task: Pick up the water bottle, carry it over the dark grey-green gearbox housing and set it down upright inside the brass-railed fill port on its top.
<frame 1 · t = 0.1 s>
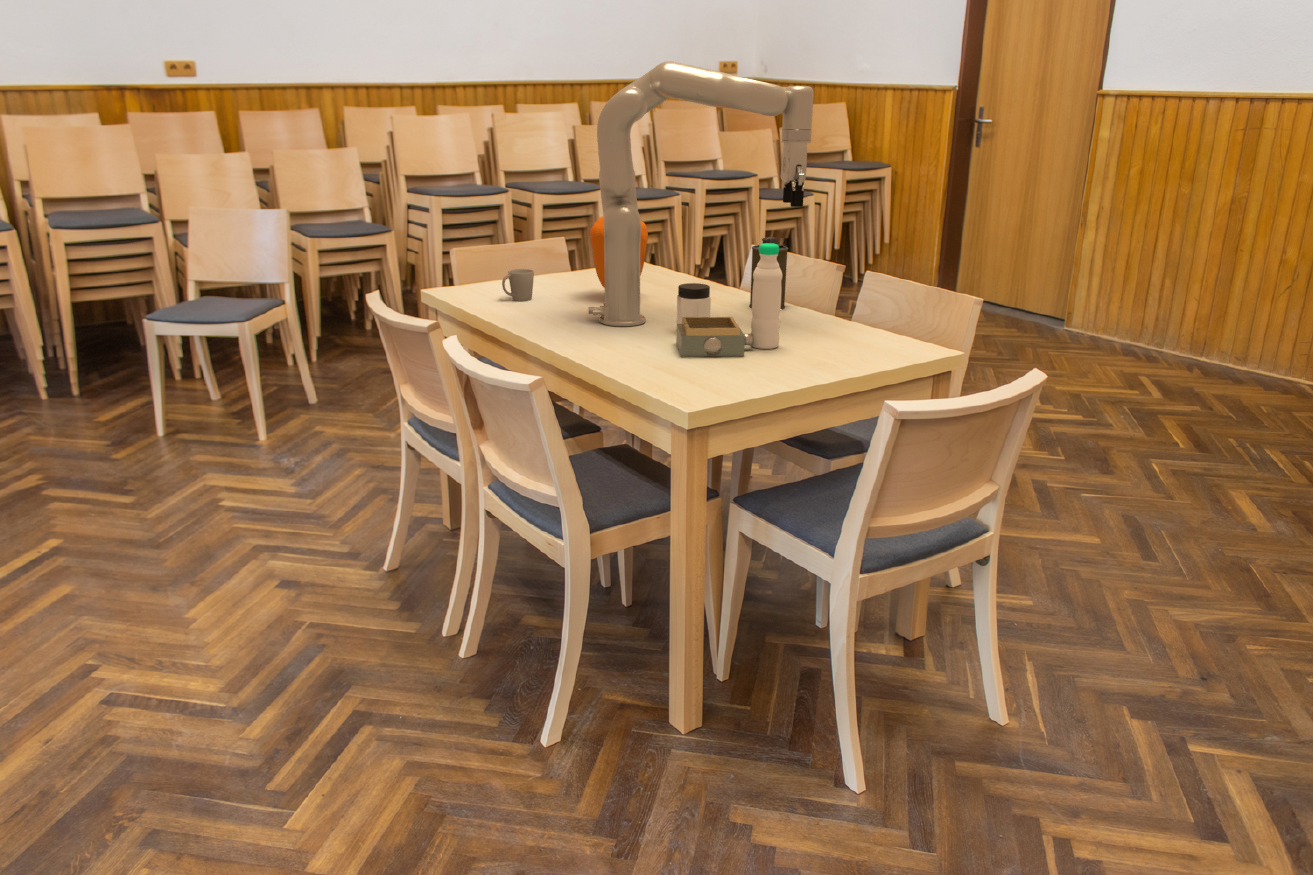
hand: (792, 204, 256), 31 cm above the table, fingers open, 9 cm apart
cup: (518, 300, 290), on the table
gearbox: (709, 349, 235), on the table
water bottle: (764, 347, 239), on the table
orange egg-shaped ornament: (618, 299, 292), on the table
canister: (767, 307, 283), on the table
jar: (693, 332, 253), on the table
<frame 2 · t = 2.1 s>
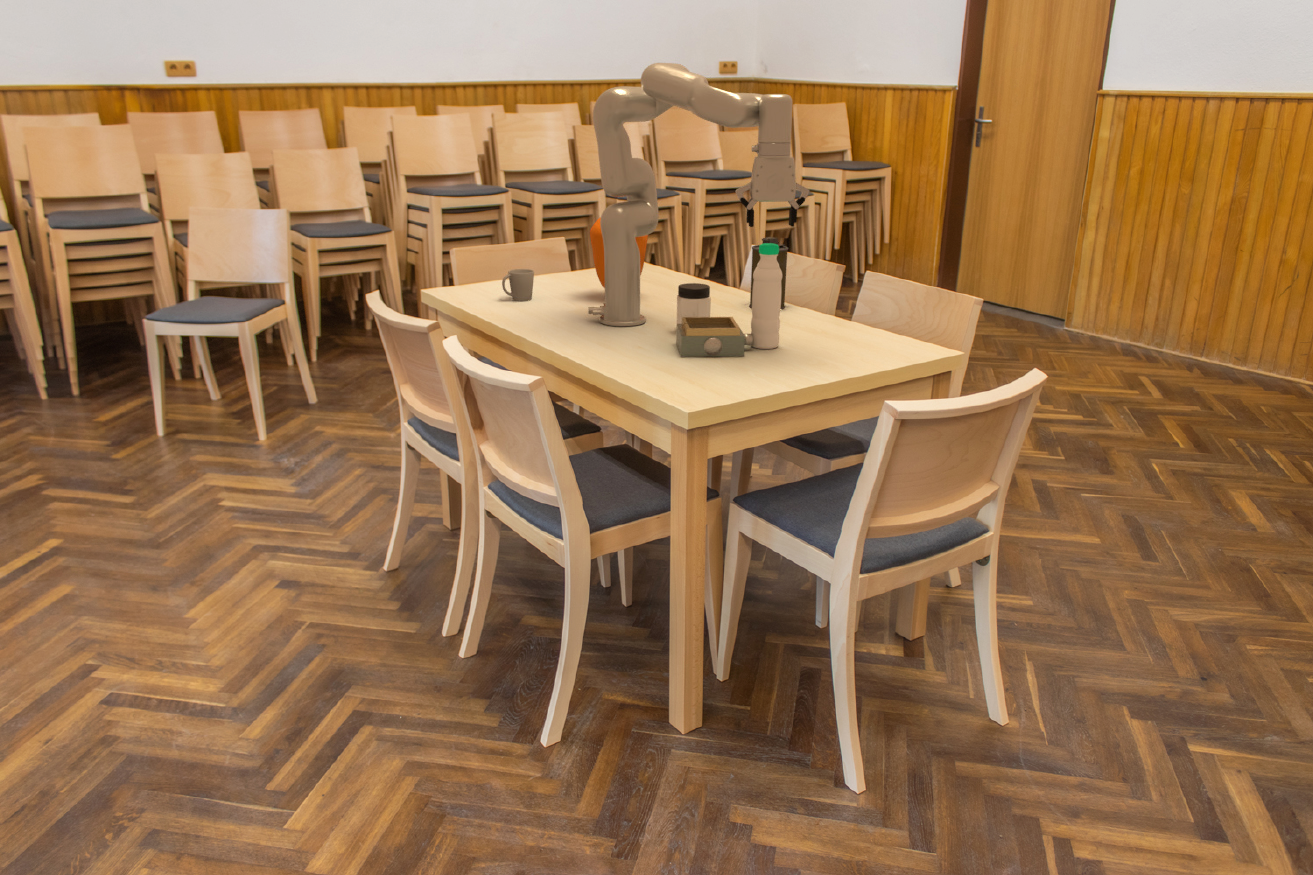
hand: (771, 226, 229), 29 cm above the table, fingers open, 9 cm apart
nothing on the table moved.
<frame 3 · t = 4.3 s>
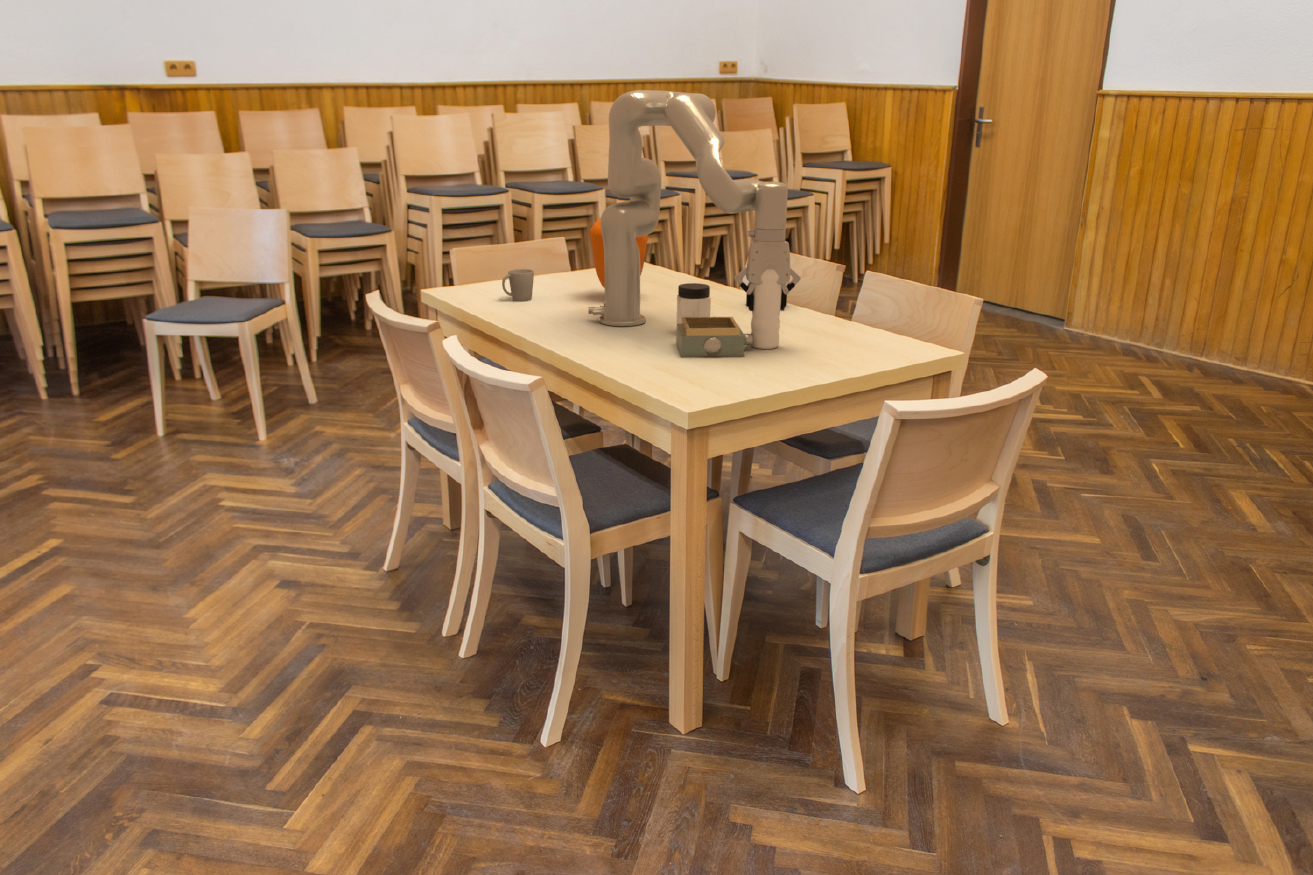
hand: (766, 309, 236), 9 cm above the table, fingers closed on water bottle, 7 cm apart
water bottle: (764, 347, 239), on the table, touching gripper
everything else where it was.
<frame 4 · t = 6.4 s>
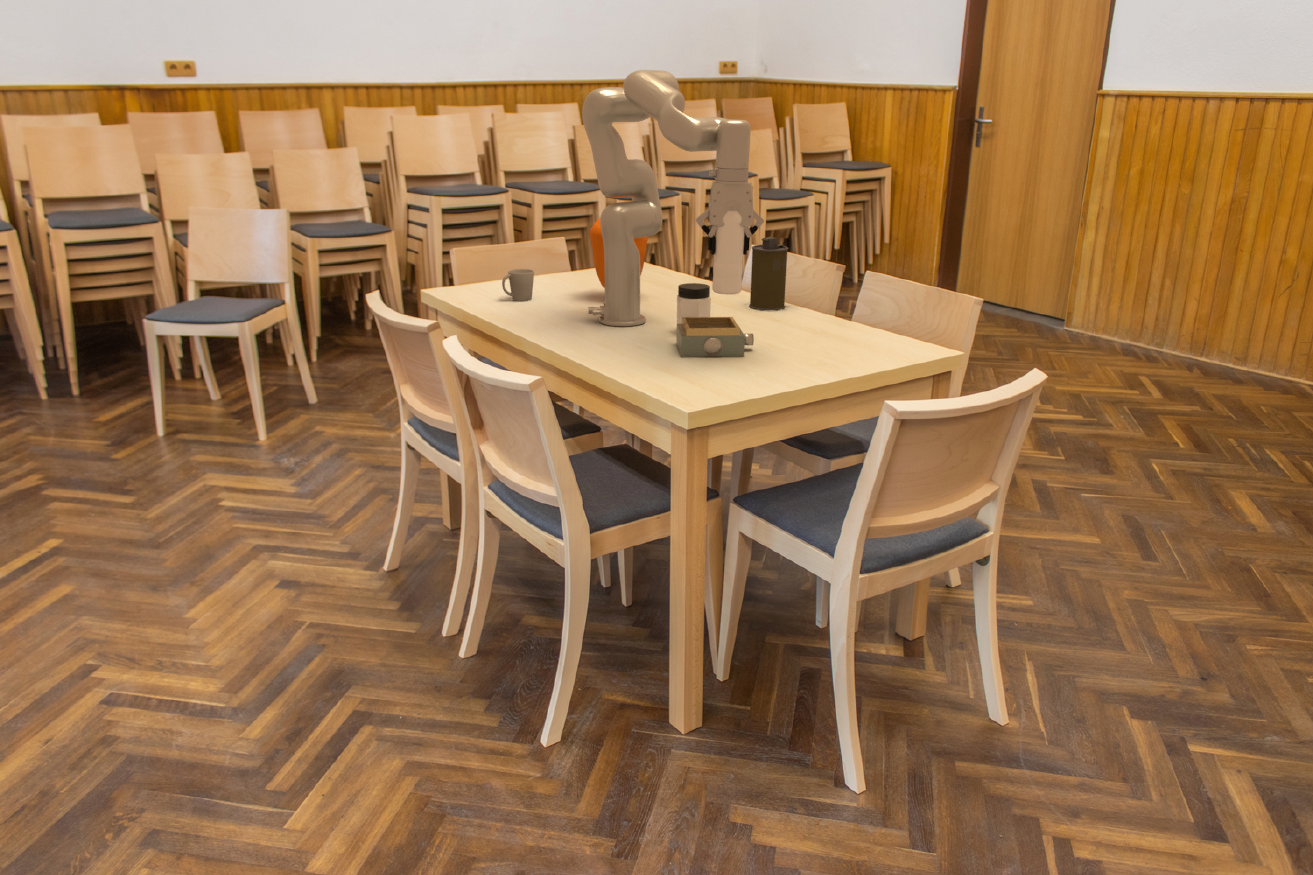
hand: (728, 253, 229), 23 cm above the table, fingers closed on water bottle, 7 cm apart
water bottle: (726, 292, 232), point 14 cm above the table, touching gripper
everything else where it was.
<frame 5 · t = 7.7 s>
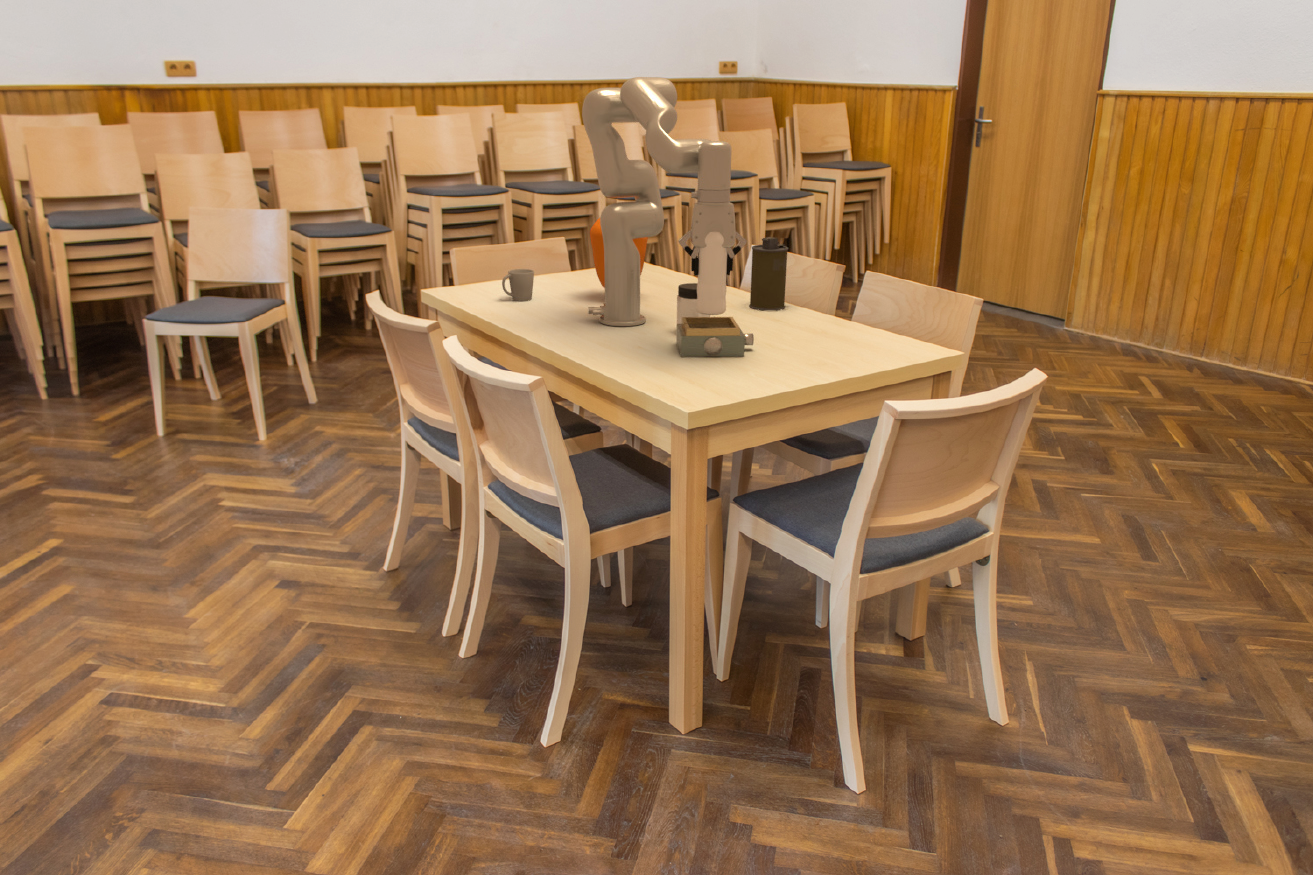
hand: (711, 273, 229), 18 cm above the table, fingers closed on water bottle, 7 cm apart
water bottle: (711, 313, 232), point 9 cm above the table, touching gripper
everything else where it was.
when the fingers open (15 cm above the table, at t = 8.8 s): water bottle stays where it is, resting on gearbox.
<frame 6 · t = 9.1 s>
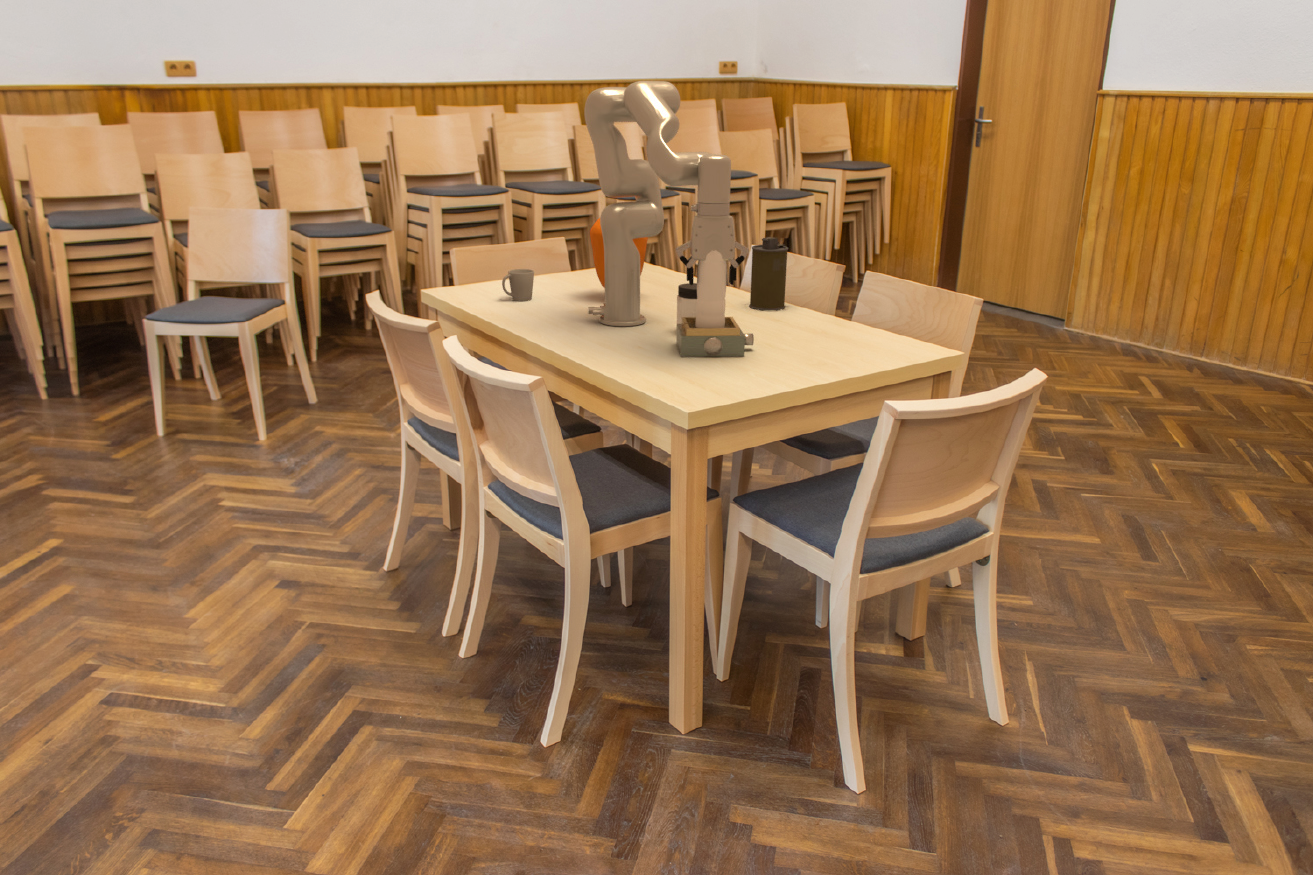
hand: (711, 283, 230), 16 cm above the table, fingers open, 9 cm apart
water bottle: (709, 329, 234), point 5 cm above the table, touching gearbox
everything else where it was.
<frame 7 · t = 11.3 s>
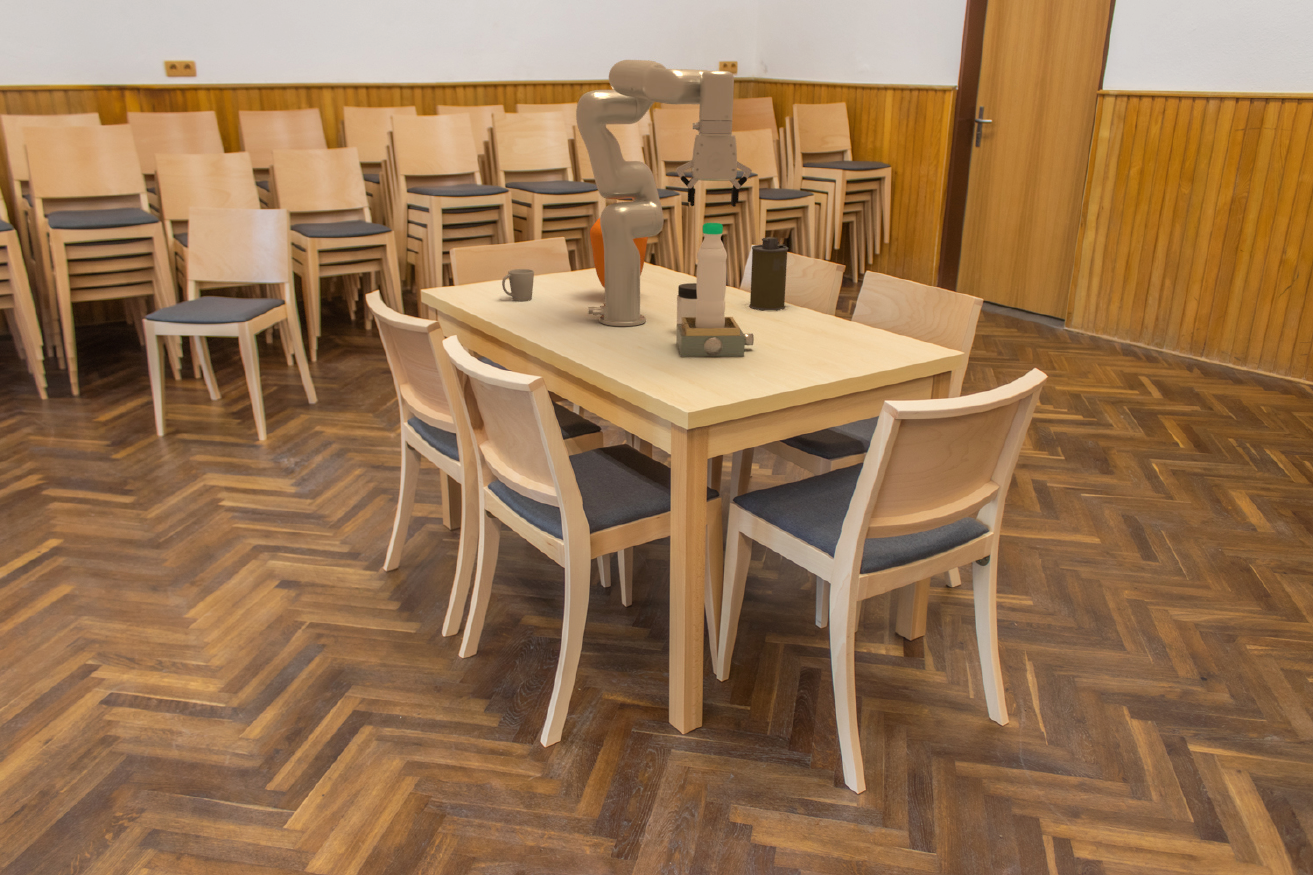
hand: (712, 205, 226), 34 cm above the table, fingers open, 9 cm apart
nothing on the table moved.
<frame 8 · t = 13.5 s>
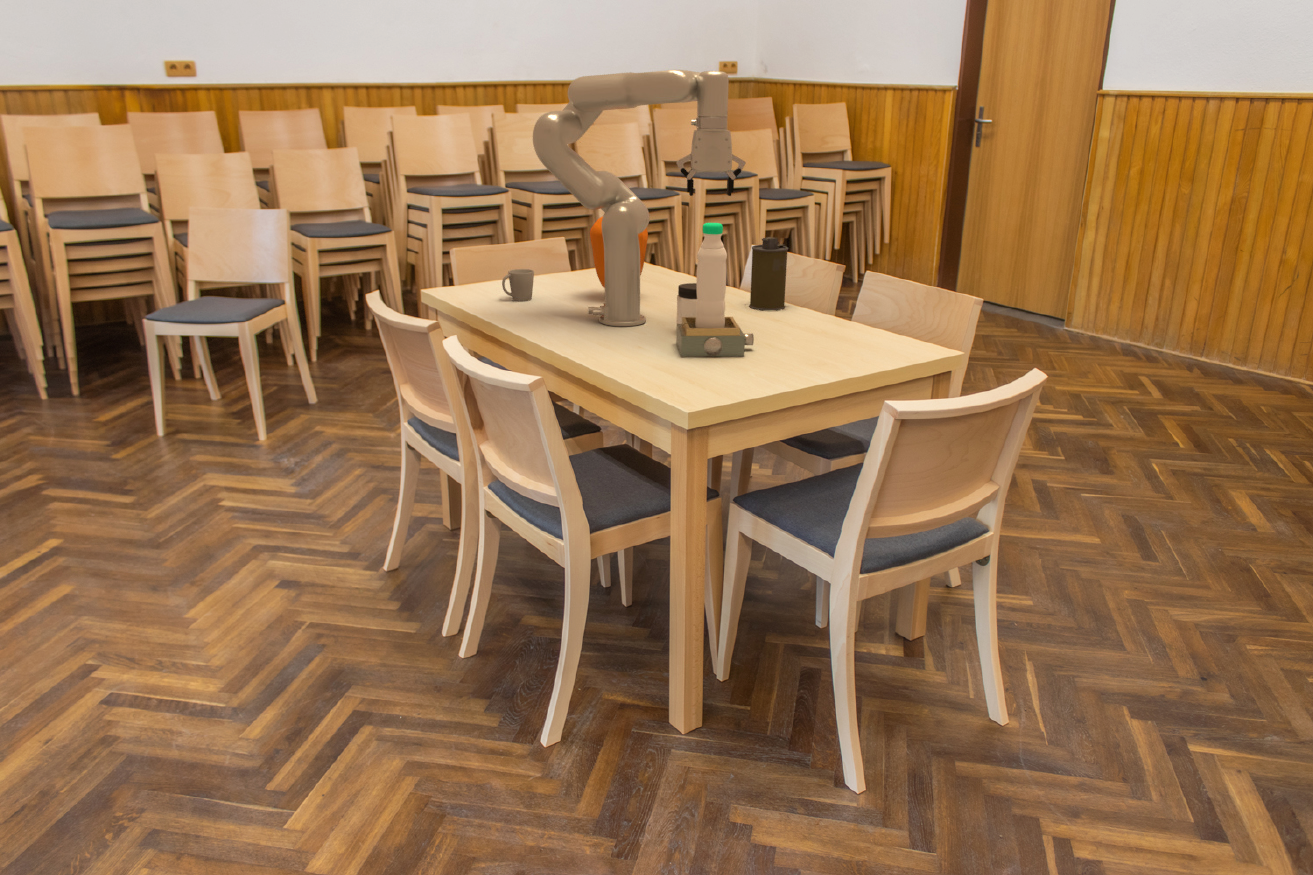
hand: (710, 195, 246), 34 cm above the table, fingers open, 9 cm apart
nothing on the table moved.
at the end: water bottle inside the target area on the gearbox (0.1 cm from its centre), point 5.0 cm above the gearbox's base; water bottle tilted 0°; the gripper is holding nothing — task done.
